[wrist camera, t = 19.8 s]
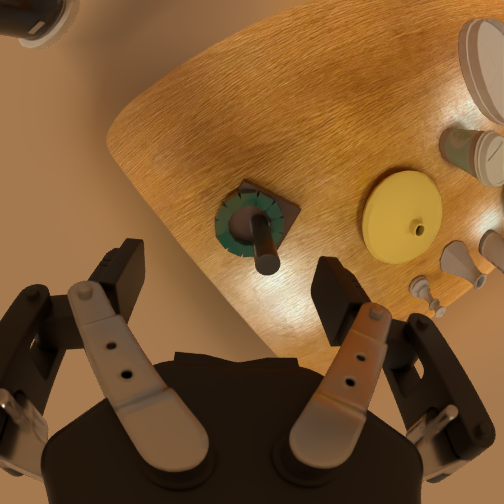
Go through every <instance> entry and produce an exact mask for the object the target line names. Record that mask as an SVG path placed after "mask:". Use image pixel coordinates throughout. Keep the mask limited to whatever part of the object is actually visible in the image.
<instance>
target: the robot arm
mask: <svg viewBox="0 0 504 504" xmlns="http://www.w3.org/2000/svg"><path fill="white" fill-rule="evenodd" d="M65 8H66V0H0V35H4V36H11V37H16V38H22V39H25V40H29V41H35V40H39V39H41V38H43V37H44V36H46V35H47V34H48V33H49V32H50V31H51V30H52V29H53V28H54V27H55V26H56V25H57V23H58V22H59V21H60V19H61V17H62V15H63V13H64V11H65ZM144 279H145V258H144V242H143V240H142V239H131V238H127V239H126V240H125V241H124V242H123V244H122V245H121V247H120V248H114V249H112V250H111V251H109V252H108V253H106V255H105V256H104V258H103V259H102V261H101V262H100V263H99V266H97V268H96V269H95V271H94V272H93V273H92V275H91V276H90V278H89V279H88V281H82V282H79V283H76V284H74V285H73V286H72V287H71V288H70V289H69V290H68V294H67V295H56V296H50V293H49V290H48V288H47V287H46V286H44V285H41V284H35V285H31V286H28V287H26V288H25V289H23V290H22V292H20V294H19V295H18V296H17V298H16V299H15V300H14V302H13V303H12V305H11V306H10V307H9V309H8V310H7V312H6V313H5V315H4V316H3V318H2V319H1V321H0V468H2V469H3V470H5V471H6V472H8V473H9V474H11V475H13V476H22V475H27V476H29V477H31V478H34V479H37V480H38V481H41V482H43V483H44V484H45V487H46V492H47V496H48V501H49V504H421V484H422V482H423V481H425V480H426V481H427V482H430V483H437V482H440V481H441V480H443V479H445V478H446V477H448V476H449V475H451V474H452V473H454V472H456V471H457V470H458V469H460V468H461V467H463V466H464V465H466V464H467V463H469V462H470V461H471V460H473V459H474V458H476V457H477V456H478V455H480V454H481V453H482V452H483V451H485V450H486V449H487V448H489V447H490V446H491V445H492V444H493V442H494V440H495V436H496V435H495V428H494V425H493V423H492V421H491V419H490V417H489V415H488V413H487V411H486V409H485V407H484V405H483V403H482V401H481V400H480V398H479V396H478V394H477V392H476V390H475V389H474V387H473V385H472V383H471V381H470V380H469V378H468V376H467V374H466V373H465V371H464V369H463V368H462V366H461V364H460V363H459V361H458V359H457V358H456V356H455V354H454V353H453V351H452V350H451V348H450V347H449V345H448V344H447V342H446V340H445V339H444V337H443V336H442V334H441V333H440V331H439V330H438V328H437V327H436V326H435V324H434V323H433V321H432V320H431V319H430V318H428V317H427V316H425V315H423V314H419V313H412V314H411V315H410V316H409V318H408V319H407V321H406V322H404V321H399V320H395V319H392V315H391V313H390V312H389V310H388V309H386V308H385V307H384V306H382V305H380V304H377V303H373V302H371V300H370V299H369V297H368V296H367V294H366V293H365V291H364V289H363V288H361V287H362V286H361V285H360V283H359V282H358V280H357V279H356V277H355V276H354V274H352V273H351V272H350V271H349V270H347V269H346V268H344V267H343V266H342V264H341V263H340V261H339V260H338V258H336V257H326V256H321V257H320V258H319V261H318V264H317V268H316V271H315V275H314V278H313V282H312V285H311V297H312V300H313V302H314V305H315V307H316V310H317V312H318V315H319V317H320V320H321V322H322V325H323V327H324V330H325V333H326V335H327V338H328V340H329V343H330V346H341V347H340V349H339V351H338V353H337V355H336V357H335V358H334V360H333V362H332V364H331V366H330V367H329V369H328V371H327V373H326V375H325V376H323V375H321V374H319V373H317V372H315V371H313V370H310V369H307V368H303V367H299V364H298V360H297V358H263V359H258V360H252V361H246V362H232V361H228V360H224V359H220V358H217V357H212V356H209V355H205V354H194V353H183V352H175V356H174V361H167V362H162V363H159V364H155V365H152V364H151V362H150V361H149V359H148V358H147V356H146V355H145V353H144V352H143V350H142V348H141V347H140V345H139V344H138V342H137V340H136V339H135V337H134V335H133V334H132V332H131V331H130V329H129V327H128V325H127V324H128V321H129V318H130V316H131V313H132V311H133V308H134V306H135V303H136V301H137V298H138V295H139V293H140V291H141V288H142V286H143V283H144ZM33 339H35V341H34V343H33V345H32V347H31V349H30V346H31V343H32V341H33ZM81 348H84V350H85V352H86V355H87V357H88V360H89V362H90V365H91V367H92V369H93V372H94V374H95V376H96V379H97V381H98V383H99V385H100V388H101V390H102V392H103V394H104V396H105V398H104V399H103V400H102V401H101V402H99V403H98V404H96V405H95V406H93V407H92V408H91V409H89V410H88V411H86V412H85V413H84V414H82V415H81V416H79V417H78V418H77V419H75V420H74V421H72V422H71V423H69V424H68V425H67V426H65V427H64V428H62V429H61V430H59V431H58V432H56V433H55V434H54V435H53V436H52V437H51V438H50V439H49V440H48V426H47V423H46V421H45V419H44V418H43V417H42V416H43V413H44V410H45V407H46V403H47V401H48V398H49V394H50V392H51V388H52V386H53V383H54V380H55V377H56V375H57V372H58V369H59V367H60V364H61V362H62V359H63V357H64V354H65V352H66V350H67V349H81ZM418 358H419V359H420V361H421V363H422V365H423V367H424V375H423V377H422V379H420V377H419V374H418V373H417V370H416V368H415V367H414V364H415V362H416V361H417V360H418ZM381 368H383V370H384V373H385V375H386V377H387V380H388V382H389V385H390V387H391V390H392V392H393V395H394V398H395V400H396V403H397V405H398V408H399V411H400V413H401V416H402V419H403V422H404V424H405V427H406V430H407V433H406V437H405V436H403V435H402V434H400V433H399V432H398V431H396V430H395V429H393V428H392V427H391V426H389V425H388V424H386V423H385V422H384V421H382V420H381V419H380V418H378V417H377V416H376V415H374V414H373V413H372V412H370V411H369V410H368V406H369V403H370V401H371V398H372V395H373V392H374V389H375V387H376V384H377V380H378V378H379V375H380V371H381Z"/></svg>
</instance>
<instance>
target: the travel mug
mask: <svg viewBox="0 0 504 504" xmlns="http://www.w3.org/2000/svg"><path fill="white" fill-rule="evenodd" d="M479 252H480V254H481V255H482V256H483V257H485V258H486V259H487V260H488V261H489V262H491V263H492V264H493V265H494V266H495V267H496V268H498V269H499V270H500V271H501V272H502V273H503V274H504V238H503V237H501V236H500V235H499V234H497V233H496V232H494V231H493V230H490V231H488V232H486V233H485V234H484V236H483V237H482V239H481V242H480V245H479Z"/></svg>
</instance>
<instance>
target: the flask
mask: <svg viewBox="0 0 504 504" xmlns="http://www.w3.org/2000/svg"><path fill="white" fill-rule="evenodd" d="M440 263H441V270H442V271H443V272H446V273H450V274H453V275H456V276H459V277H462V278H464V279H466V280H468V281H469V282H471V283H472V284H473V285H474V288H475V289H480V288H481V287H482V286H483V285H484V283H485V281H486V274H482V273H481V272H480V271H479V270H478V268H477V267H476V266H475V264H474V262H473V260H472V258H471V256H470V255H469V252H468V250H467V248H466V246H465V244H464V243H463V242H460V241H454V242H453V243H451V244H450V245H448V246H447V247H446V248H445V249H444V252H443V255H442V257H441V260H440Z"/></svg>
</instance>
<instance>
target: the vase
mask: <svg viewBox="0 0 504 504" xmlns="http://www.w3.org/2000/svg"><path fill="white" fill-rule="evenodd" d="M441 219H442V200H441V196H440V192H439V190H438V188H437V186H436V185H435V183H434V182H433V181H432V180H431V179H430V178H429V177H428V176H427V175H425V174H423V173H420V172H418V171H402V172H398V173H394V174H392V175H390V176H388V177H387V178H385V179H383V180H382V181H381V182H380V183H379V184H378V185H377V186H376V187H375V188H374V190H373V191H372V193H371V195H370V196H369V198H368V199H367V202H366V205H365V208H364V211H363V216H362V231H363V238H364V241H365V244H366V246H367V248H368V250H369V251H370V253H371V254H372V255H373V256H374V257H375V258H376V259H378V260H380V261H382V262H384V263H389V264H399V263H404V262H407V261H410V260H412V259H414V258H416V257H417V256H419V255H420V254H422V253H423V252H424V251H425V250H426V249H427V248H428V247H429V246H430V245H431V243H432V242H433V240H434V238H435V237H436V235H437V233H438V230H439V228H440V224H441Z"/></svg>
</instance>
